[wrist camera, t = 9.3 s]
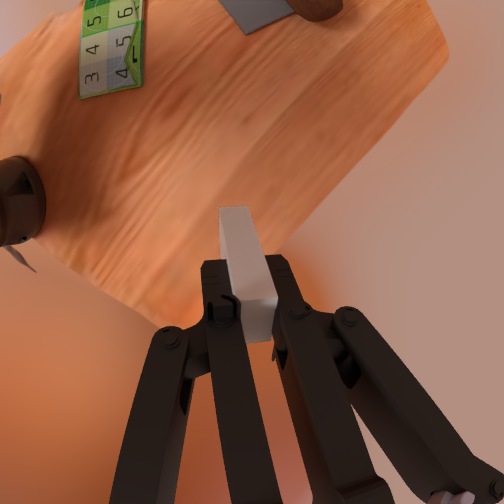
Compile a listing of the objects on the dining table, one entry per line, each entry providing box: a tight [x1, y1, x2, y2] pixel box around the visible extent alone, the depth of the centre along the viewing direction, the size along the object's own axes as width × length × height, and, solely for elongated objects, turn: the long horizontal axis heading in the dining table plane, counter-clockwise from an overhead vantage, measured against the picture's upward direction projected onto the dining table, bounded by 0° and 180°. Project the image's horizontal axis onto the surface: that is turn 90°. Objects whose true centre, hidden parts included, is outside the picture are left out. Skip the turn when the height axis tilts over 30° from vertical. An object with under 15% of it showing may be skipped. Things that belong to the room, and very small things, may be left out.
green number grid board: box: [79, 0, 145, 99], centre depth 29 cm, size 20×1×10 cm
